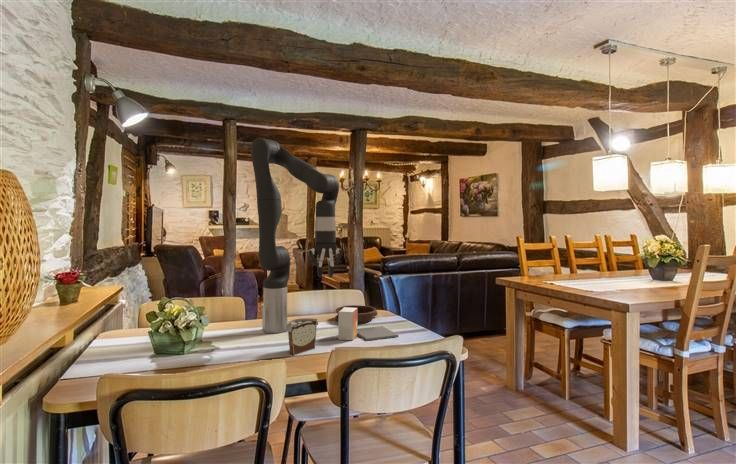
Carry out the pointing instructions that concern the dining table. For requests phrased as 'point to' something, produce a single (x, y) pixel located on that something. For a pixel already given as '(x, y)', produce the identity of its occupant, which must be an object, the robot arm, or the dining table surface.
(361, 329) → the slate board
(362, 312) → the dish
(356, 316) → the small box
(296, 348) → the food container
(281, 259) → the robot arm
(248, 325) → the dining table surface
